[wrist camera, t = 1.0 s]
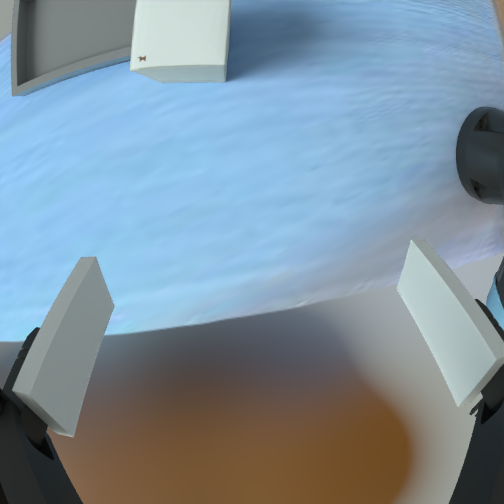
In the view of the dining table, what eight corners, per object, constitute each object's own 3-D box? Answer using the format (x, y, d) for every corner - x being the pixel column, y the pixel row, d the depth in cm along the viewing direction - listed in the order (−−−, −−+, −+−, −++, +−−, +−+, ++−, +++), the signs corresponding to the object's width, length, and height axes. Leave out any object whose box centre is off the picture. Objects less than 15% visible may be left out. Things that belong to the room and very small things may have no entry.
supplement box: (226, 84, 30) (226, 69, 19) (160, 84, 29) (125, 72, 18) (231, 24, 27) (234, -17, 16) (165, 25, 26) (135, -13, 15)
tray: (148, -45, 21) (143, -55, 18) (151, 56, 28) (144, 51, 25) (26, 1, 20) (14, -3, 18) (25, 95, 27) (12, 96, 24)
